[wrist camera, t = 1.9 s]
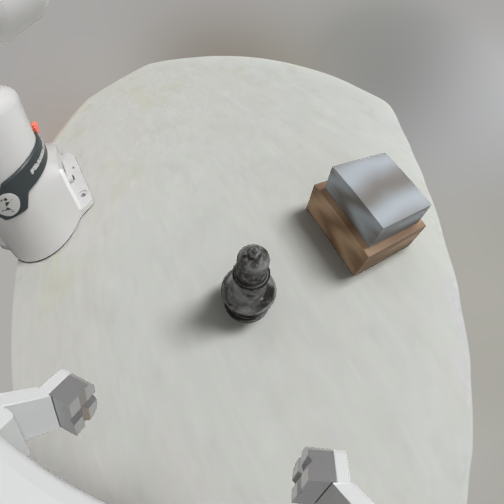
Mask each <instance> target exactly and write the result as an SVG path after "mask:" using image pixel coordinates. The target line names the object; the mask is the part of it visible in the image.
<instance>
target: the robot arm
mask: <svg viewBox="0 0 504 504" xmlns="http://www.w3.org/2000/svg"><path fill="white" fill-rule="evenodd" d="M49 2H50V0H0V47H2V46H3V45H5V44H7V43H9V42H10V41H11V40H12V39H14V38H15V37H16V36H18V35H19V34H20V33H22V32H23V31H24V30H26V29H27V28H28V27H29V26H31V25H32V24H33V23H35V22H36V21H38V20H39V19H40V18H41V17H42V16H43V14H44V12H45V11H46V9H47V7H48V4H49ZM37 133H39V128H38V124H37V122H36V121H34V122H32V123H31V124H30V123H29V121H28V118H27V116H26V114H25V111H24V109H23V106H22V104H21V101H20V99H19V96H18V94H17V93H16V92H15V91H14V90H13V89H12V88H10V87H8V86H4V85H0V246H1V247H2V248H4V249H8V250H11V251H12V252H13V254H14V255H15V256H16V257H17V258H18V259H20V260H22V261H26V262H34V261H38V260H41V259H44V258H46V257H48V256H50V255H51V254H53V253H54V252H56V251H57V250H58V249H59V248H60V247H61V246H62V245H63V244H64V243H65V242H66V241H67V240H68V239H69V237H70V236H71V235H72V233H73V232H74V230H75V228H76V226H77V224H78V222H79V220H80V218H81V216H82V215H83V214H84V213H85V212H86V211H87V210H88V209H89V208H90V207H91V205H92V204H93V202H94V199H93V197H92V194H91V192H90V190H89V188H88V186H87V183H86V181H85V179H84V177H83V174H82V172H81V170H80V167H79V165H78V162H77V160H76V158H75V156H74V154H73V153H65V154H60V151H59V149H58V147H57V145H56V144H54V143H44V142H43V140H42V139H41V137H39V136H38V134H37ZM94 392H95V388H94V385H93V384H91V383H89V382H87V381H85V380H83V379H81V378H80V377H78V376H76V375H74V374H72V373H70V372H68V371H67V370H65V369H60V370H59V371H58V372H57V373H55V374H54V375H53V376H52V377H51V378H50V379H49V380H48V381H46V382H45V383H44V384H43V385H42V386H41V387H40V388H37V387H33V388H28V389H22V390H17V391H11V392H5V393H0V504H106V503H104V502H102V501H100V500H98V499H96V498H94V497H92V496H90V495H89V494H87V493H85V492H83V491H81V490H79V489H78V488H76V487H74V486H72V485H71V484H69V483H67V482H65V481H64V480H62V479H61V478H59V477H57V476H56V475H54V474H53V473H51V472H50V471H48V470H47V469H45V468H44V467H42V466H41V465H39V464H38V463H36V462H35V461H33V460H32V459H31V458H29V457H28V455H29V453H30V449H29V447H28V445H27V443H26V440H29V439H31V438H34V437H37V436H40V435H42V434H45V433H48V432H50V431H53V430H56V429H58V428H60V427H62V428H63V429H65V430H67V431H69V432H71V433H73V434H74V435H76V436H77V435H78V434H79V433H80V432H81V430H82V429H83V428H84V427H85V421H86V420H89V419H91V418H92V417H93V415H94V413H95V411H96V408H97V400H96V398H95V397H94V395H93V393H94ZM292 480H293V482H294V483H295V485H294V487H293V488H292V500H291V503H298V504H374V503H373V502H372V501H371V500H370V499H369V498H368V497H367V496H366V495H365V494H364V493H363V492H362V491H361V490H360V489H359V488H358V487H357V485H356V484H355V483H351V481H350V474H349V467H348V460H347V454H346V451H345V450H334V449H332V450H331V449H324V448H314V447H305V448H304V449H303V451H302V457H301V458H299V459H298V460H297V462H296V463H295V466H294V469H293V477H292Z"/></svg>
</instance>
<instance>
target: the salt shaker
mask: <svg viewBox="0 0 504 504" xmlns="http://www.w3.org/2000/svg"><path fill="white" fill-rule="evenodd" d="M269 263H270V258H269V254H268V252H267V250H266V249H265V248H263V247H262V246H259V245H254V244H252V245H247V246H245V247H243V248H242V249H241V250H240V251H239V253H238V256H237V263H236V264H235V265H234V267H233V270H231V271H230V272H229V273H228V274H227V275H226V276H225V278H224V280H223V282H222V287H221V293H222V298H223V300H224V302H225V308H226V310H227V312H228V313H229V315H230V316H231V317H232V318H234V319H235V320H237V321H240V322H244V323H251V322H255V321H258V320H260V319H261V318H262V317H263V316H264V315H265V314H266V313H267V311H268V309H269V308H270V306H271V305H272V304H273V302H274V300H275V297H276V285H275V282H274V280H273V278H272V276H271V275H270V269H269Z"/></svg>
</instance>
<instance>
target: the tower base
mask: <svg viewBox="0 0 504 504" xmlns="http://www.w3.org/2000/svg"><path fill="white" fill-rule="evenodd" d="M430 206H431V204H430V202H429V201H428V200H427V199H426V198H425V196H424V195H423V194H422V193H421V192H420V190H419V189H418V188H417V187H416V186H415V185H414V184H413V182H412V181H411V180H410V179H409V178H408V177H407V176H406V175H405V173H404V172H403V171H402V170H401V169H400V168H399V167H398V166H397V165H396V164H395V163H394V162H393V161H392V160H391V158H390V157H389V156H388V155H387V154H386V153H382V154H378V155H374V156H370V157H366V158H363V159H359V160H355V161H351V162H348V163H344V164H340V165H337V166H333V167H332V170H331V172H330V175H329V178H328V181H325V182H322V183H319V184H316V185H314V188H313V191H312V194H311V197H310V200H309V203H308V206H307V209H308V211H309V212H310V214H311V215H312V216H313V218H314V219H315V221H316V222H317V223H318V225H319V226H320V228H321V229H322V230H323V232H324V233H325V235H326V236H327V237H328V239H329V240H330V242H331V243H332V245H333V246H334V247H335V249H336V250H337V252H338V253H339V255H340V256H341V258H342V259H343V261H344V262H345V264H346V265H347V267H348V268H349V270H350V271H351V273H352V274H353V276H355V275H357V274H358V273H360V272H362V271H364V270H366V269H368V268H369V267H371V266H373V265H375V264H377V263H378V262H380V261H382V260H384V259H386V258H387V257H389V256H391V255H393V254H394V253H396V252H398V251H400V250H401V249H403V248H405V247H406V246H408V245H410V244H411V243H412V241H413V240H414V239H415V238H416V237H417V236H418V234H419V233H420V232H421V231H422V230H423V229H424V227H425V226H426V225H425V224H424V223H423V221H422V220H421V218H422V216H423V215H424V214H425V212H426V211H427V210H428V209H429V207H430Z"/></svg>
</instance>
